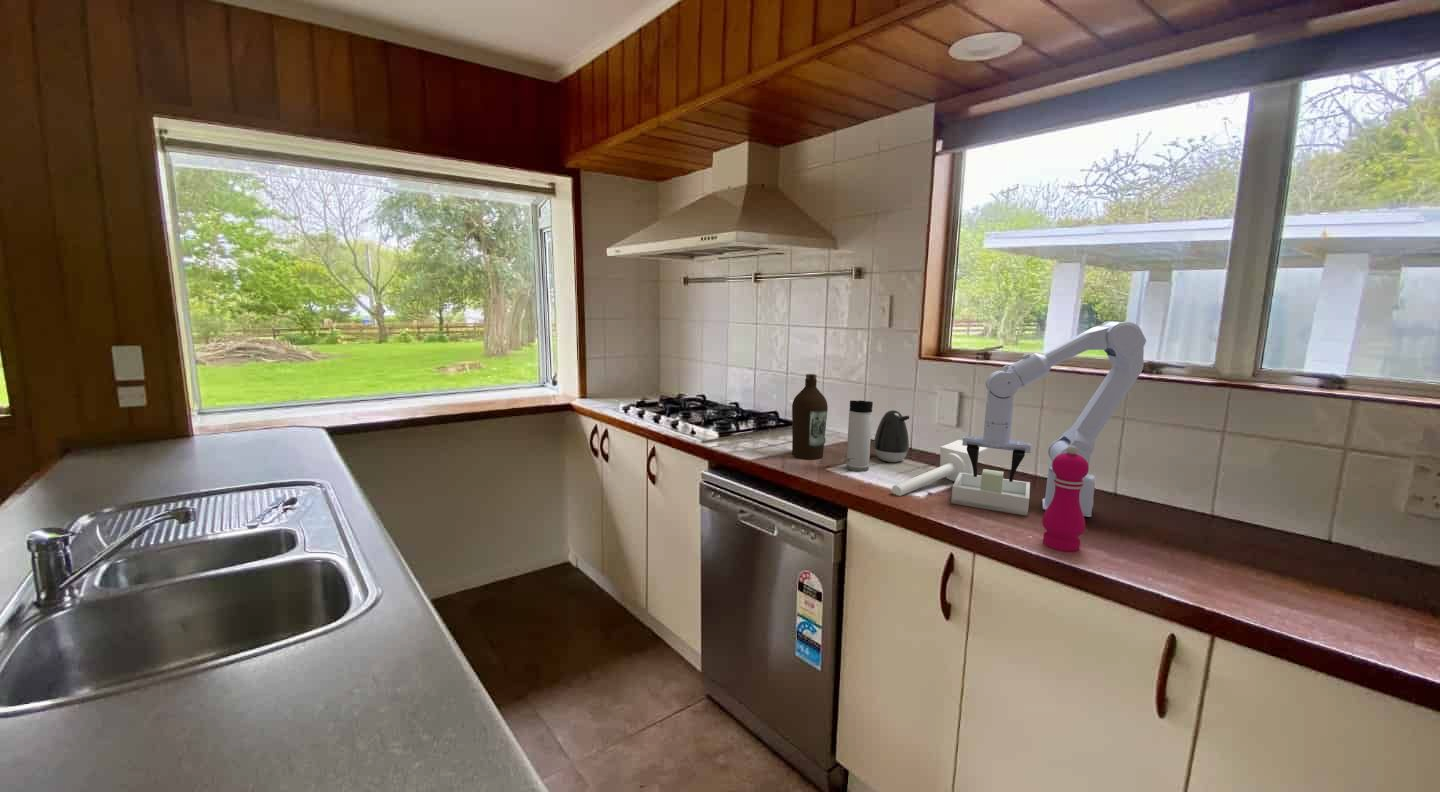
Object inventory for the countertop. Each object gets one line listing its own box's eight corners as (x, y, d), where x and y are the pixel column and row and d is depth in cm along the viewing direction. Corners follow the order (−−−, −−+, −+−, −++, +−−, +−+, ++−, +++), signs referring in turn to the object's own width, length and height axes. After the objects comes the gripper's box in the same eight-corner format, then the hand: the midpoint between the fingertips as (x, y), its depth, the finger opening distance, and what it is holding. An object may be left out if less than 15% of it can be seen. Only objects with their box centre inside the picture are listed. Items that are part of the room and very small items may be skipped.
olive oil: (782, 454, 179) (786, 373, 175) (807, 449, 185) (811, 371, 181) (807, 462, 170) (811, 377, 166) (832, 457, 177) (836, 375, 173)
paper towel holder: (990, 446, 154) (912, 479, 137) (989, 477, 156) (912, 513, 139) (959, 439, 162) (881, 469, 145) (958, 469, 164) (881, 502, 147)
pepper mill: (1031, 540, 116) (1042, 442, 113) (1057, 536, 118) (1069, 440, 115) (1064, 555, 109) (1076, 451, 106) (1091, 550, 112) (1104, 448, 108)
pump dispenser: (895, 466, 168) (899, 414, 165) (865, 458, 175) (868, 409, 173) (915, 461, 174) (919, 411, 172) (885, 454, 182) (889, 406, 179)
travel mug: (845, 471, 162) (849, 400, 159) (846, 464, 168) (850, 396, 165) (868, 472, 161) (873, 401, 157) (868, 466, 167) (872, 398, 164)
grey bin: (1028, 498, 142) (1030, 482, 141) (1027, 515, 130) (1029, 498, 129) (958, 487, 149) (959, 472, 149) (951, 503, 137) (952, 486, 136)
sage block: (1001, 495, 140) (1003, 471, 139) (1000, 501, 136) (1002, 476, 135) (981, 492, 142) (983, 468, 141) (979, 497, 138) (981, 473, 137)
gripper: (962, 421, 136) (958, 477, 138) (1032, 428, 129) (1026, 487, 132) (966, 417, 142) (961, 470, 145) (1033, 423, 136) (1027, 479, 138)
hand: (992, 478), depth 138 cm, fingers open, 7 cm apart
